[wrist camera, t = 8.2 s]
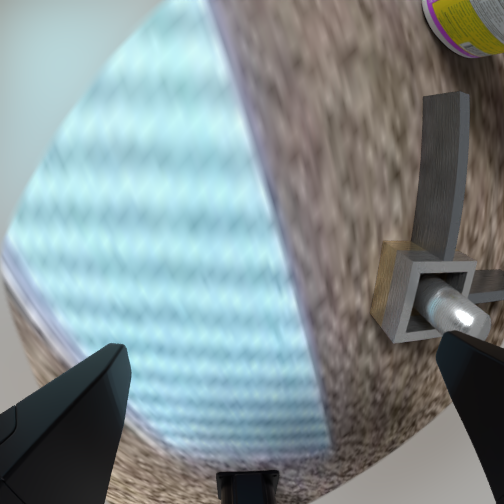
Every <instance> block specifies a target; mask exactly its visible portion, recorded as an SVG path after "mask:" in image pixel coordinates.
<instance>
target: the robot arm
mask: <svg viewBox="0 0 504 504" xmlns="http://www.w3.org/2000/svg"><path fill="white" fill-rule="evenodd" d="M436 362H437V364H438V367H439V369H440V372H441V374H442V377H443V379H444V382H445V384H446V387H447V389H448V392H449V394H450V397H451V399H452V401H453V403H454V406H455V408H456V409H457V412H458V414H459V416H460V418H461V420H462V422H463V424H464V426H465V429H466V431H467V433H468V435H469V437H470V439H471V442H472V444H473V446H474V448H475V451H476V453H477V455H478V458H479V460H480V462H481V465H482V467H483V470H484V472H485V474H486V477H487V480H488V482H489V485H490V487H491V490H492V493H493V495H494V498H495V501H496V504H504V348H501V347H499V346H496V345H493V344H491V343H488V342H486V341H483V340H481V339H478V338H475V337H473V336H470V335H468V334H465V333H463V332H460V331H457V330H452V331H447V332H445V333H444V334H443V336H442V339H441V342H440V344H439V347H438V350H437V353H436ZM130 382H131V366H130V362H129V357H128V352H127V348H126V346H125V345H124V344H116V343H110V344H108V345H106V346H105V347H103V348H102V349H100V350H99V351H97V352H95V353H94V354H92V355H91V356H89V357H88V358H86V359H85V360H83V361H82V362H80V363H79V364H77V365H75V366H74V367H72V368H71V369H69V370H68V371H66V372H65V373H63V374H62V375H60V376H58V377H57V378H55V379H54V380H52V381H51V382H49V383H48V384H46V385H45V386H43V387H42V388H40V389H38V390H37V391H35V392H34V393H32V394H31V395H29V396H28V397H26V398H25V399H23V400H22V401H20V402H19V403H17V404H16V406H15V405H14V406H12V407H11V408H9V409H8V410H6V411H5V412H3V413H1V414H0V504H104V503H105V499H106V494H107V490H108V485H109V481H110V477H111V473H112V469H113V465H114V461H115V457H116V453H117V449H118V445H119V441H120V438H121V434H122V430H123V426H124V420H125V414H126V407H127V400H128V394H129V388H130ZM278 480H279V472H278V471H260V472H219V473H217V474H216V481H217V490H218V499H220V500H221V504H276V499H275V494H276V489H277V484H278Z"/></svg>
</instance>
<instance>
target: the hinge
mask: <svg viewBox="0 0 504 504" xmlns="http://www.w3.org/2000/svg"><path fill="white" fill-rule="evenodd" d="M469 120H470V100H469V94H466V93H463V92H461V91H457V92H450V93H443V94H436V95H430V96H424V97H423V130H422V150H421V164H420V176H419V186H418V195H417V204H416V211H415V219H414V226H413V232H412V238H411V241H383V244H382V251H381V257H380V263H379V269H378V275H377V280H376V286H375V291H374V296H373V301H372V306H371V311H370V314H371V315H372V316H373V318H374V319H375V320H376V321H377V323H378V324H379V325H380V327H381V328H382V329H383V331H384V332H385V333H386V334H387V336H388V337H389V338H390V340H391V341H392V342H393V344H394V343H402V342H409V341H416V340H423V339H430V338H436V337H442V335H441V334H440V333H439V332H438V331H437V330H436V329H435V328H434V327H433V326H432V325H431V324H430V323H429V322H428V321H427V320H426V319H425V318H424V317H423V316H422V315H421V314H420V313H419V312H418V311H417V310H416V309H415V308H414V307H413V303H414V299H415V295H416V291H417V287H418V282H419V278H420V273H434V274H435V275H437V276H438V277H439V278H441V279H442V280H443V281H445V282H446V283H447V284H449V285H450V286H452V287H453V288H454V289H456V290H457V291H458V292H459V293H461V294H462V295H463V296H465V297H466V298H467V299H469V300H470V301H471V302H472V303H474V304H477V303H484V302H492V301H499V300H504V271H502V270H501V269H498V270H475V268H476V264H477V261H476V260H474V259H473V258H471V257H469V256H467V255H466V254H464V253H462V252H460V251H459V250H457V249H456V244H457V238H458V233H459V227H460V221H461V215H462V208H463V201H464V193H465V184H466V174H467V163H468V148H469Z"/></svg>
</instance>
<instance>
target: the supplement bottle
mask: <svg viewBox="0 0 504 504" xmlns="http://www.w3.org/2000/svg"><path fill="white" fill-rule="evenodd" d="M422 6H423V11H424V14H425V17H426V19H427V21H428V23H429V25H430V27H431V29H432V30H433V32H434V33H435V34H436V36H437V37H438V38H439V39H440V40H441V41H442V42H443V43H444V44H445V45H446V46H447V47H448V48H449V49H451V50H452V51H453V52H455V53H457V54H458V55H461V56H463V57H467V58H479V57H485V56H490V55H495V54H500V53H504V0H422Z"/></svg>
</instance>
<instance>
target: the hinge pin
mask: <svg viewBox="0 0 504 504" xmlns="http://www.w3.org/2000/svg"><path fill="white" fill-rule="evenodd" d="M413 307H414V308H415V309H416V310H417V311H418V312H419V313H420V314H421V315H422V316H423V317H424V318H425V319H426V320H427V321H428V322H429V323H430V324H431V325H432V326H433V327H434V328H435V329H436V330H437V331H438V332H439V333H440V334H441V335H442V336H443V334H444V333H445V332H447V331H452V330H457V331H460V332H463V333H465V334H468V335H470V336H473V337H475V338H478V339H481V340H483V341H485V339H486V338H487V336H488V334H489V331H490V328H491V318H490V316H489V315H488V314H486V313H485V312H484V311H483V310H481V309H480V308H479V307H478V306H476V305H475V304H474V303H472V302H471V301H470V300H469V299H467V298H466V297H465V296H463V295H462V294H461V293H459V292H458V291H457V290H456V289H454V288H453V287H452V286H450V285H449V284H447V283H446V282H445V281H443V280H442V279H441V278H439V277H438V276H437V275H435V274H434V273H420V278H419V282H418V287H417V291H416V295H415V299H414V303H413Z"/></svg>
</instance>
